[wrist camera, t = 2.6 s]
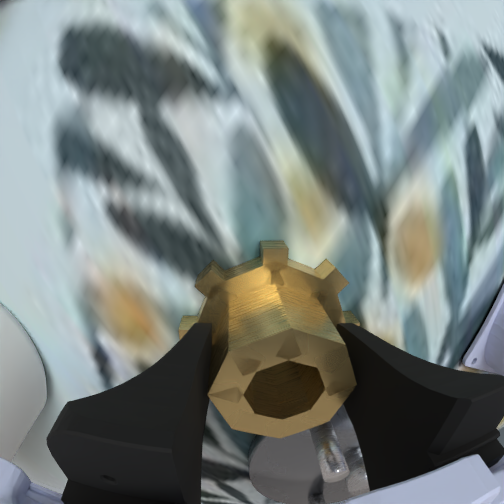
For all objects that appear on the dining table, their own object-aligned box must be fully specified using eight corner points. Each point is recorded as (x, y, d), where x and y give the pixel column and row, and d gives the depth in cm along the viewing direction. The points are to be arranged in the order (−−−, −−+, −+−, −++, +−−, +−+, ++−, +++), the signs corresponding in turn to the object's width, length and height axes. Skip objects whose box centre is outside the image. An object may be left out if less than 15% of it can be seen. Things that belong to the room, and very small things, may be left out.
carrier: (473, 378, 16) (508, 415, 11) (368, 492, 19) (382, 529, 14) (318, 339, 13) (351, 408, 9) (217, 484, 16) (217, 537, 12)
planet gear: (374, 278, 13) (428, 326, 8) (302, 398, 14) (322, 464, 10) (221, 215, 11) (215, 244, 7) (167, 359, 13) (147, 429, 9)
